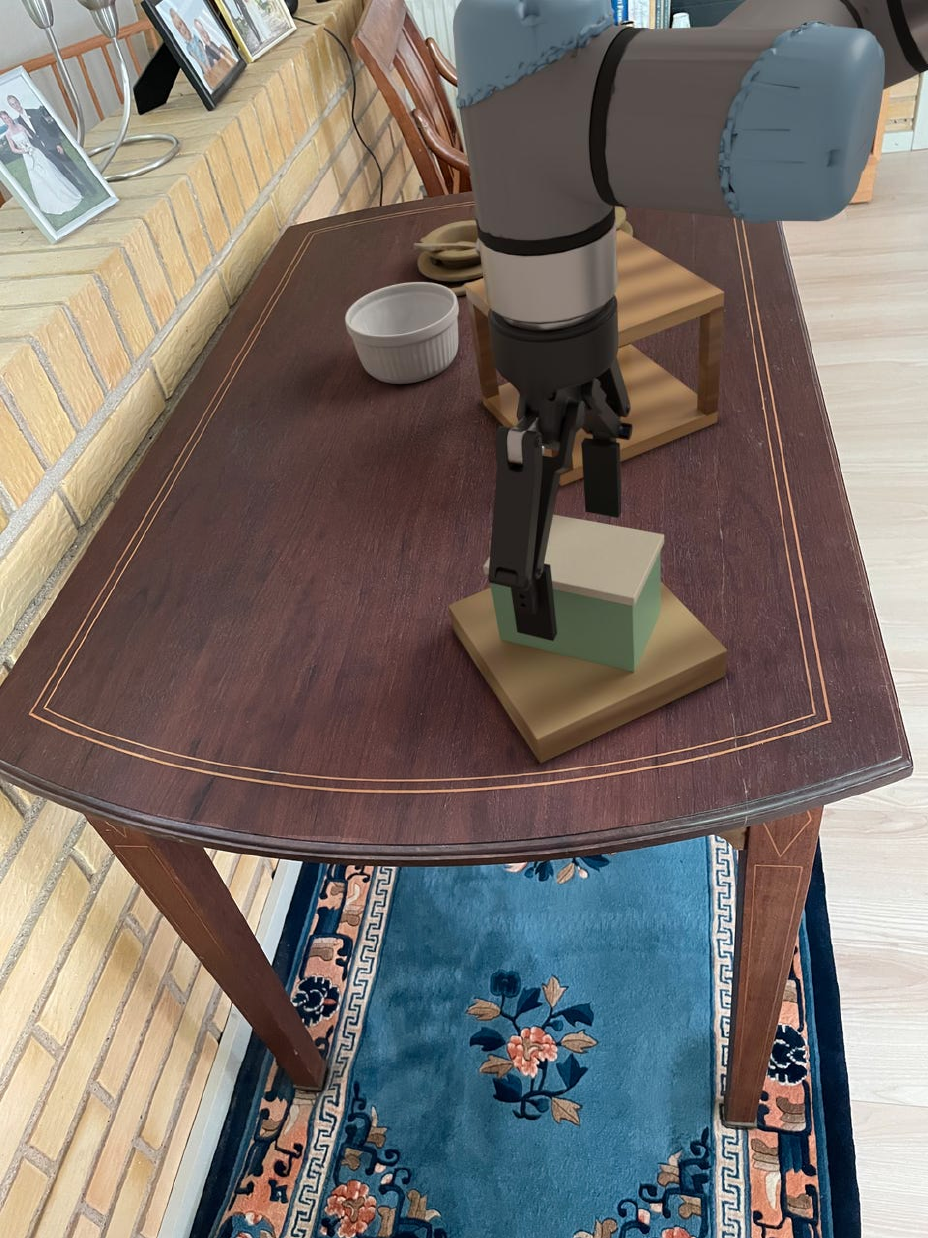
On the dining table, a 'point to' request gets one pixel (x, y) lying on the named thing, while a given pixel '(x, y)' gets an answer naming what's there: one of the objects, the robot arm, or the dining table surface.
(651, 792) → the dining table surface
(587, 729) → the wooden square board
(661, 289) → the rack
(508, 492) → the robot arm
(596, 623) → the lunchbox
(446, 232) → the tableware set
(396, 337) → the ramekin
